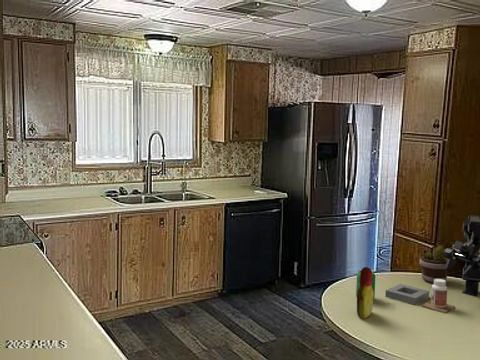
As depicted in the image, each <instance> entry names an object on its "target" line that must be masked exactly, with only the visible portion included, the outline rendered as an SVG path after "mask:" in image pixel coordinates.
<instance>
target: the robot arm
mask: <svg viewBox="0 0 480 360" xmlns="http://www.w3.org/2000/svg"><path fill="white" fill-rule="evenodd" d="M462 232H463V236H464V238H465V239H466V240H467V242H462V241H459V240H455V241H454V244H453V248H454V249H453V248H450V247H447V248H445V249H444V253H445V256H446V258H447V264H446V268H445V271H449V270H450V269H452V267H454V266H455V265H456V264H457V262H458V261H459V260H462V261H464V262H465V264H464V267H463V269H462V275H461V277H462V281H464V282H465V285H464V289H463V290H462V291H461V292H462V293H463V294H466V295H471V296H475V297H477V296H479V295H480V291H479V290H480V289H479V288H480V256H479V255H480V215H474V214H473V215H468V217H467V218H466V219H465V220H463V224H462ZM455 249H456V250H457V251H456V250H455Z"/></svg>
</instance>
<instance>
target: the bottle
mask: <svg viewBox="0 0 480 360" xmlns="http://www.w3.org/2000/svg"><path fill="white" fill-rule="evenodd" d="M360 271H361V275H360V287H359V289H358V292H357V297H356V314H357V316H358V317H359V318H361V319H366V318H368V317H369V316H370V315H371V314H372V311H373V305H374V304H373V302H374V299H373V295H374V292H373V289H372V286H371V283H372V282H371V281H372V272H373V271H372V269H371V268H370V267H367V266H365V267H362V268H361V270H360Z"/></svg>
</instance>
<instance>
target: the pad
mask: <svg viewBox="0 0 480 360" xmlns="http://www.w3.org/2000/svg"><path fill="white" fill-rule="evenodd" d="M421 308H425V309H428V310H432V311H436V312H439V313H443V314H446V313H448V312H449V311H452V310H453V309H454V308H456V306H455V305H453V304H449V303H447V305H446V307H444V308H439V307H434V306H432V305H431V300H429V301H427V302H426V303H424V304H422V305H421Z"/></svg>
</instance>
